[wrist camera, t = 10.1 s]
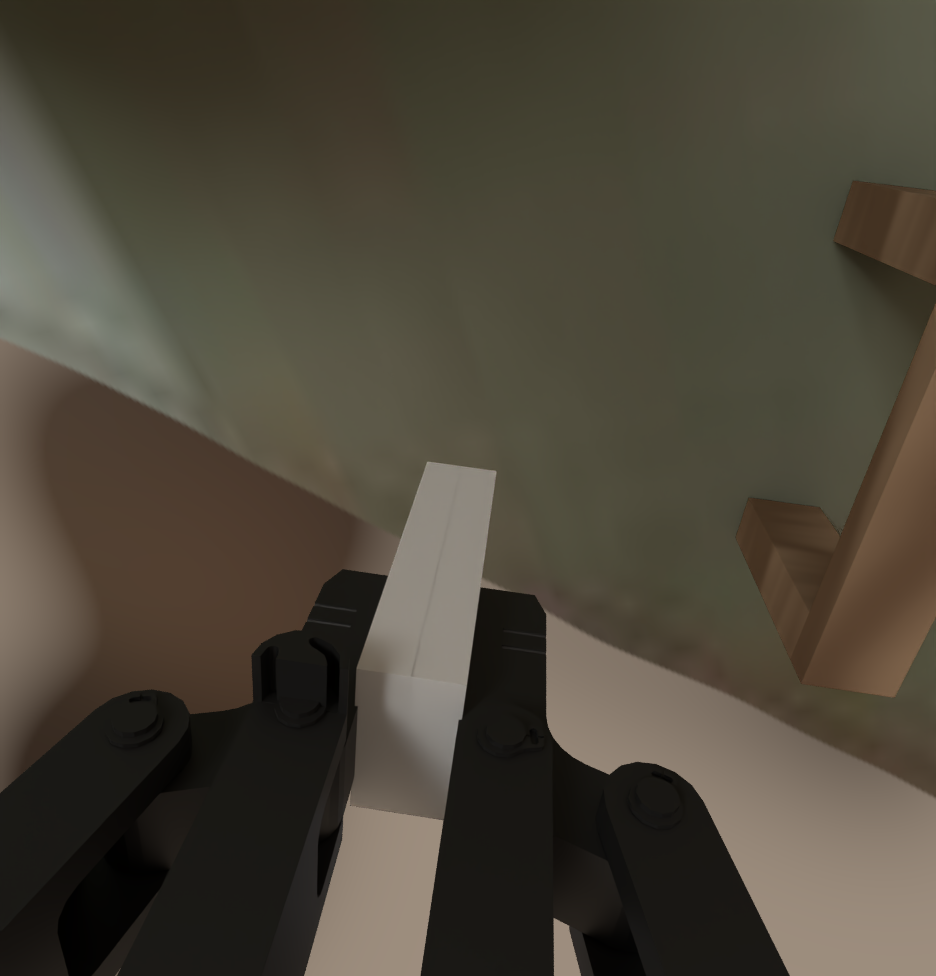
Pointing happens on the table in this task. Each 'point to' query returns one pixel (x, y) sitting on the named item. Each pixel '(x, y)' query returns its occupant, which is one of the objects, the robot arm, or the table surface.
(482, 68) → the table surface
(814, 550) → the bridge
